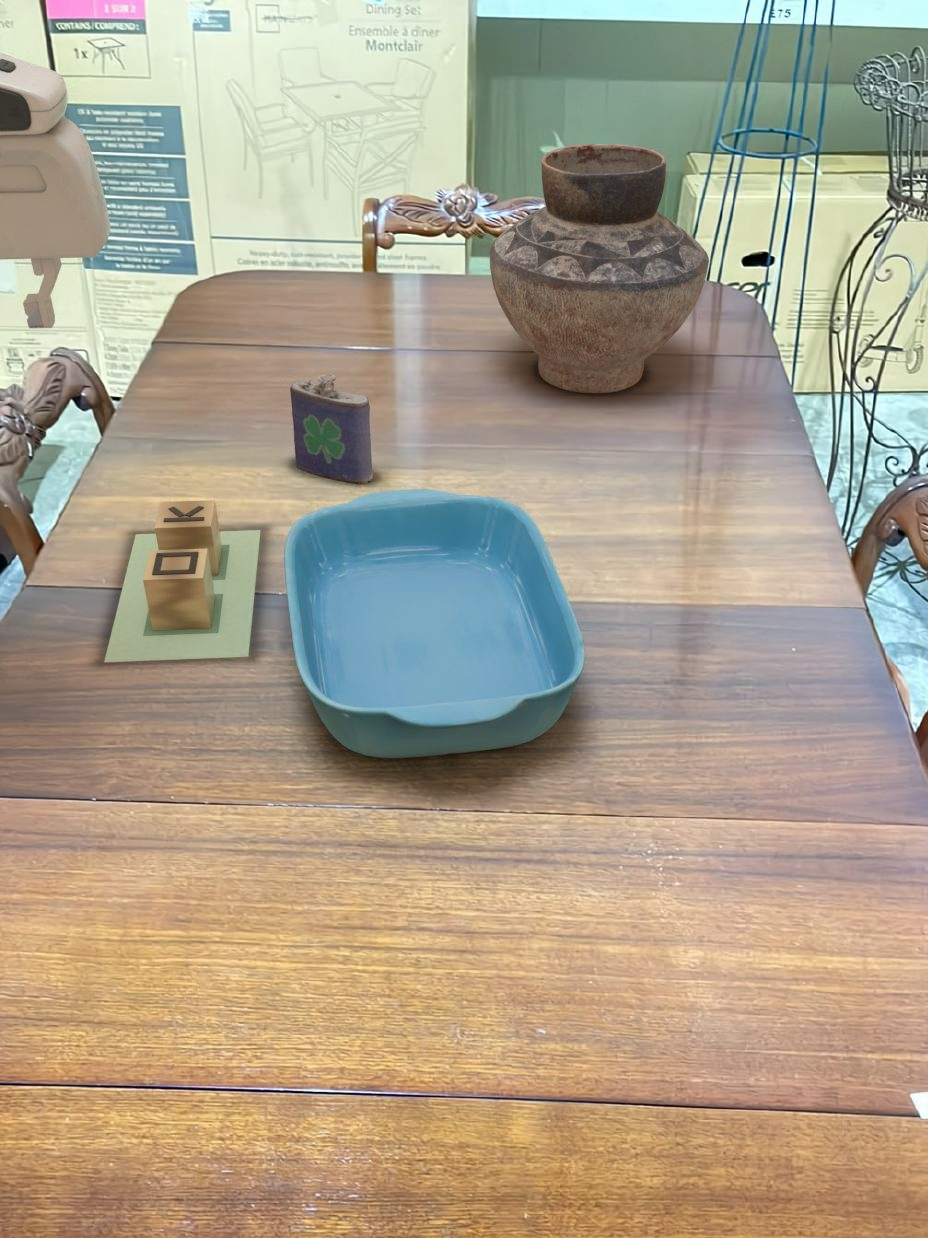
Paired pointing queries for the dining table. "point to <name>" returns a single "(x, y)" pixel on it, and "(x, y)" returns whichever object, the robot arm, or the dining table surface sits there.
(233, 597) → the word mat
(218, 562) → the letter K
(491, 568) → the casserole dish
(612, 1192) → the dining table surface
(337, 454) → the flask
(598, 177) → the ceramic pot
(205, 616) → the letter O
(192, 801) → the dining table surface
